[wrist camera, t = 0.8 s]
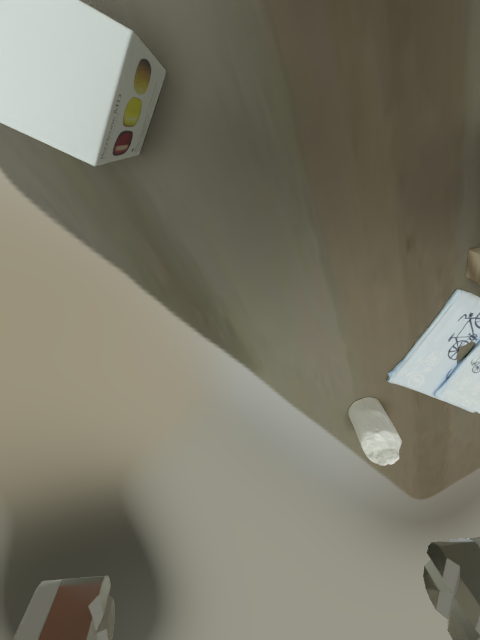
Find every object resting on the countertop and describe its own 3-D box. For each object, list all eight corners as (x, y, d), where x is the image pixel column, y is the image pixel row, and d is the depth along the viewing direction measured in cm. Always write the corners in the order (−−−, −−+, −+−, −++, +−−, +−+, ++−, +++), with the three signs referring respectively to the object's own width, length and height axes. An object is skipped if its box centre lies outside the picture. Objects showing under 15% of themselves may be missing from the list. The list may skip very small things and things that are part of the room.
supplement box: (140, 157, 41) (95, 174, 26) (58, 118, 39) (-41, 111, 24) (168, 67, 37) (135, 26, 22) (80, 17, 35) (-23, -65, 20)
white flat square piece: (471, 410, 64) (479, 419, 62) (381, 376, 59) (386, 384, 57) (554, 325, 56) (566, 332, 54) (457, 278, 51) (466, 283, 49)
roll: (389, 485, 53) (364, 470, 51) (361, 426, 63) (340, 412, 62) (421, 463, 51) (397, 446, 49) (387, 405, 61) (366, 390, 60)
